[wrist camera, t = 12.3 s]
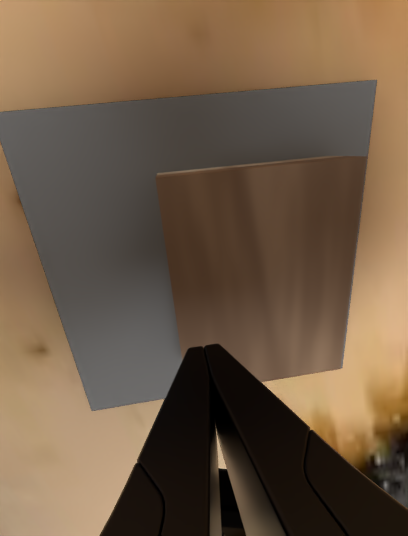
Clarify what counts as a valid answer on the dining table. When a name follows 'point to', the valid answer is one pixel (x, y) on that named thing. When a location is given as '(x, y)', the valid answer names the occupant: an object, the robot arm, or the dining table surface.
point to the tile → (264, 259)
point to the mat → (149, 207)
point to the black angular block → (229, 507)
